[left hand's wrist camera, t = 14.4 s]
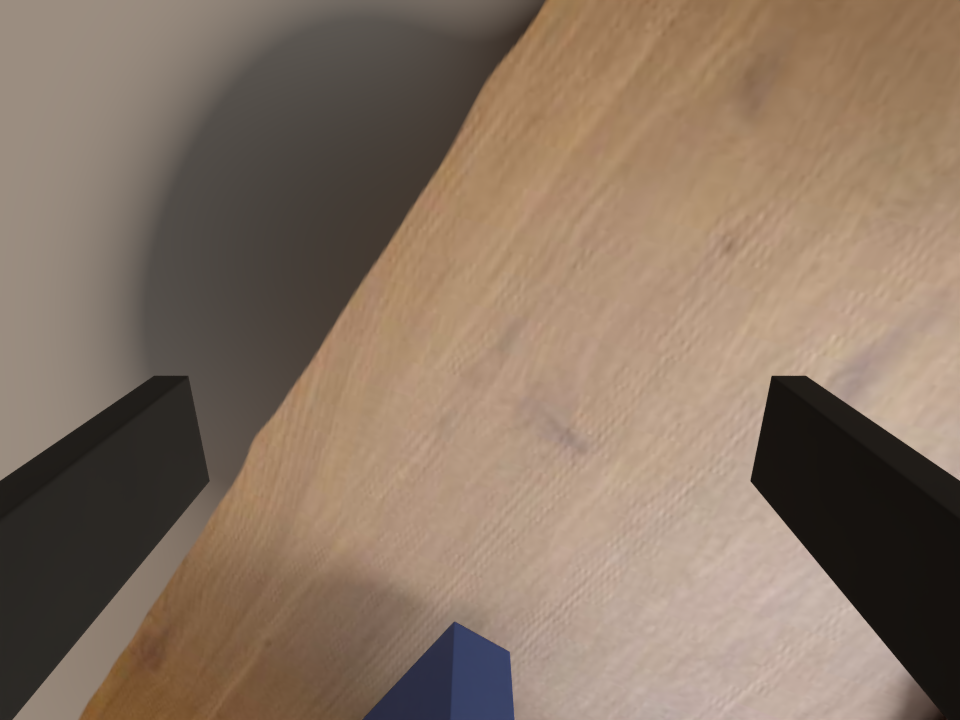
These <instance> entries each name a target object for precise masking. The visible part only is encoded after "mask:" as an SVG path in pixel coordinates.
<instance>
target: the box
mask: <svg viewBox="0 0 960 720" xmlns="http://www.w3.org/2000/svg"><path fill="white" fill-rule="evenodd" d="M362 720H514V707H513V693H512V678H511V664H510V652H509V651H507V650H505V649H504V648H502V647H500V646H498V645H496V644H494V643H493V642H491V641H489V640H487V639H485V638H484V637H482V636H480V635H478V634H476V633H474V632H473V631H471V630H469V629H467V628H465V627H464V626H462V625H460V624H458V623H456V622H453V624H452V625H451V626H450V627H449V628H448V629H447V630H446V631H445V632H444V633H443V634H442V635H441V636H440V637H439V638H438V640H437V641H436V642H435V643H434V644H433V645H432V646H431V647H430V648H429V649H428V650H427V651H426V652H425V653H424V654H423V656H422V657H421V658H420V659H419V660H418V661H417V662H416V663H415V664H414V665H413V666H412V667H411V668H410V669H409V670H408V671H407V673H406V674H405V675H404V676H403V677H402V678H401V679H400V680H399V681H398V682H397V683H396V684H395V685H394V686H393V687H392V689H391V690H390V691H389V692H388V693H387V694H386V695H385V696H384V697H383V698H382V699H381V700H380V701H379V702H378V703H377V705H376V706H375V707H374V708H373V709H372V710H371V711H370V712H369V713H368V714H367V715H366V716H365V717H364V718H363V719H362Z"/></svg>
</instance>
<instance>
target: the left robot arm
mask: <svg viewBox="0 0 960 720" xmlns="http://www.w3.org/2000/svg"><path fill="white" fill-rule="evenodd" d="M208 482H209V476H208V471H207V466H206V461H205V456H204V451H203V446H202V441H201V436H200V432H199V427H198V422H197V417H196V412H195V407H194V402H193V397H192V392H191V387H190V382H189V377H188V376H153V377H152V378H150V379H149V380H147V381H146V382H144V383H143V384H142V385H140V386H139V387H137V388H136V389H134V390H133V391H131V392H130V393H128V394H127V395H125V396H124V397H123V398H121V399H119V400H118V401H117V402H115V403H114V404H112V405H111V406H109V407H108V408H106V409H105V410H103V411H102V412H100V413H99V414H97V415H96V416H95V417H93V418H92V419H90V420H89V421H87V422H86V423H84V424H83V425H81V426H80V427H78V428H77V429H76V430H74V431H73V432H71V433H70V434H68V435H67V436H65V437H64V438H62V439H61V440H59V441H58V442H56V443H55V444H54V445H52V446H51V447H49V448H48V449H46V450H45V451H43V452H42V453H40V454H39V455H37V456H36V457H34V458H33V459H32V460H30V461H29V462H27V463H26V464H24V465H23V466H21V467H20V468H18V469H17V470H15V471H14V472H13V473H11V474H10V475H8V476H7V477H5V478H4V479H2V480H1V481H0V720H12V719H13V718H14V717H15V716H16V715H17V713H18V712H19V711H20V710H21V709H22V707H23V706H24V705H25V704H26V703H27V701H28V700H29V699H30V698H31V696H32V695H33V694H34V693H35V692H36V690H37V689H38V688H39V687H40V686H41V684H42V683H43V682H44V681H45V680H46V678H47V677H48V676H49V675H50V674H51V672H52V671H53V670H54V669H55V668H56V666H57V665H58V664H59V663H60V661H61V660H62V659H63V658H64V657H65V655H66V654H67V653H68V652H69V651H70V649H71V648H72V647H73V646H74V645H75V643H76V642H77V641H78V640H79V638H80V637H81V636H82V635H83V634H84V632H85V631H86V630H87V629H88V628H89V626H90V625H91V624H92V623H93V622H94V620H95V619H96V618H97V617H98V615H99V614H100V613H101V612H102V610H103V609H104V608H105V607H106V606H107V605H108V603H109V602H110V601H111V600H112V599H113V597H114V596H115V595H116V594H117V592H118V591H119V590H120V589H121V588H122V586H123V585H124V584H125V583H126V582H127V580H128V579H129V578H130V577H131V576H132V574H133V573H134V572H135V571H136V569H137V568H138V567H139V566H140V565H141V563H142V562H143V561H144V560H145V559H146V557H147V556H148V555H149V554H150V553H151V551H152V550H153V549H154V548H155V546H156V545H157V544H158V543H159V542H160V540H161V539H162V538H163V537H164V536H165V534H166V533H167V532H168V531H169V530H170V528H171V527H172V526H173V525H174V523H175V522H176V521H177V520H178V519H179V517H180V516H181V515H182V514H183V512H184V511H185V510H186V509H187V508H188V506H189V505H190V504H191V503H192V502H193V500H194V499H195V498H196V497H197V496H198V494H199V493H200V492H201V491H202V490H203V488H204V487H205V486H206V485H207V484H208ZM751 482H752V484H753V485H754V486H755V487H756V488H757V490H758V491H759V492H760V493H761V494H762V496H763V497H764V498H765V499H766V500H767V502H768V503H769V504H770V505H771V507H772V508H773V509H774V510H775V511H776V513H777V514H778V515H779V516H780V517H781V519H782V520H783V521H784V522H785V523H786V525H787V526H788V527H789V528H790V530H791V531H792V532H793V533H794V534H795V536H796V537H797V538H798V539H799V540H800V542H801V543H802V544H803V545H804V546H805V548H806V549H807V550H808V551H809V553H810V554H811V555H812V556H813V557H814V559H815V560H816V561H817V562H818V563H819V565H820V566H821V567H822V568H823V569H824V571H825V572H826V573H827V574H828V576H829V577H830V578H831V579H832V580H833V582H834V583H835V584H836V585H837V586H838V588H839V589H840V590H841V591H842V592H843V594H844V595H845V596H846V597H847V599H848V600H849V601H850V602H851V603H852V605H853V606H854V607H855V608H856V609H857V611H858V612H859V613H860V614H861V615H862V617H863V618H864V619H865V620H866V622H867V623H868V624H869V625H870V626H871V628H872V629H873V630H874V631H875V632H876V634H877V635H878V636H879V637H880V638H881V640H882V641H883V642H884V643H885V645H886V646H887V647H888V648H889V649H890V651H891V652H892V653H893V654H894V655H895V657H896V658H897V659H898V660H899V661H900V663H901V664H902V665H903V666H904V668H905V669H906V670H907V671H908V672H909V674H910V675H911V676H912V677H913V678H914V680H915V681H916V682H917V683H918V684H919V686H920V687H921V688H922V689H923V691H924V692H925V693H926V694H927V695H928V697H929V698H930V699H931V700H932V701H933V703H934V704H935V705H936V706H937V707H938V709H939V710H940V711H941V712H942V714H943V715H944V716H945V717H946V718H947V720H960V481H959V480H958V479H956V478H955V477H953V476H952V475H950V474H949V473H948V472H946V471H945V470H943V469H942V468H940V467H939V466H937V465H936V464H934V463H933V462H931V461H930V460H928V459H927V458H926V457H924V456H923V455H921V454H920V453H918V452H917V451H915V450H914V449H912V448H911V447H909V446H908V445H906V444H905V443H904V442H902V441H901V440H899V439H898V438H896V437H895V436H893V435H892V434H890V433H889V432H887V431H886V430H884V429H883V428H882V427H880V426H879V425H877V424H876V423H874V422H873V421H871V420H870V419H868V418H867V417H865V416H864V415H863V414H861V413H860V412H858V411H857V410H855V409H854V408H852V407H851V406H849V405H848V404H846V403H845V402H843V401H842V400H841V399H839V398H838V397H836V396H835V395H833V394H832V393H830V392H829V391H827V390H826V389H824V388H823V387H821V386H820V385H819V384H817V383H816V382H814V381H813V380H811V379H810V378H808V377H807V376H772V377H771V382H770V387H769V392H768V397H767V402H766V407H765V412H764V417H763V422H762V427H761V431H760V436H759V441H758V446H757V451H756V456H755V461H754V466H753V471H752V476H751Z"/></svg>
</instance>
